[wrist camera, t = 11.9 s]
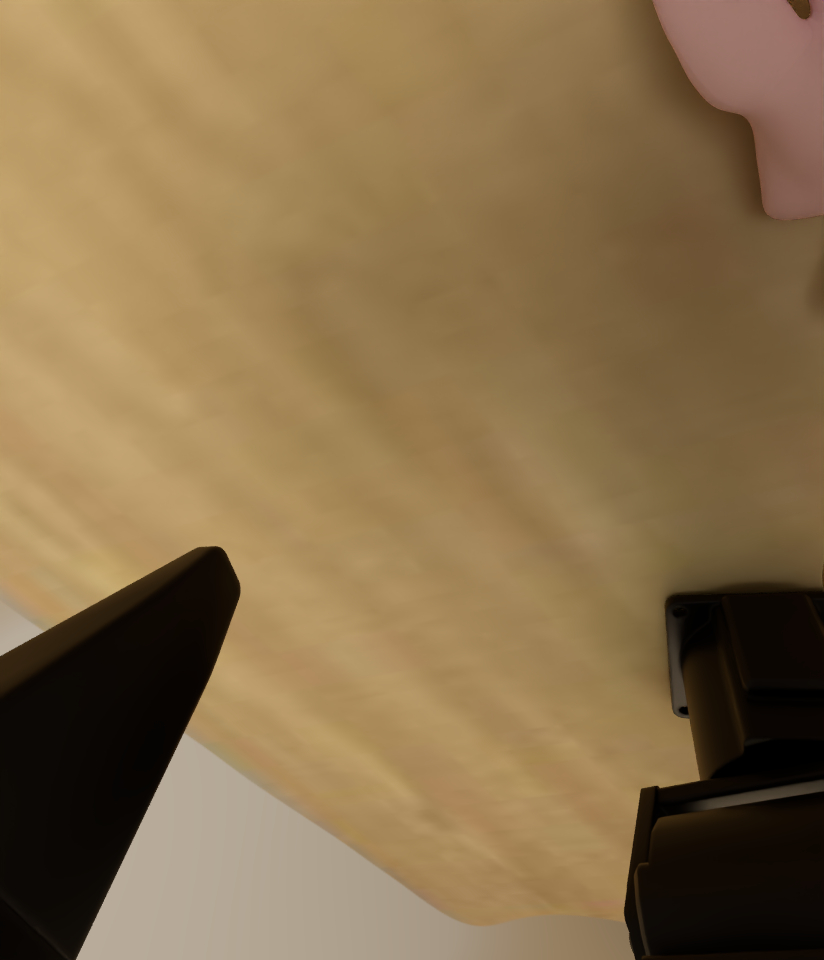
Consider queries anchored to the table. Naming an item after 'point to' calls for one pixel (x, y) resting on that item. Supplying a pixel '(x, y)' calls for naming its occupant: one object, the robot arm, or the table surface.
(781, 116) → the rabbit figure
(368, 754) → the table surface
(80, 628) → the robot arm
